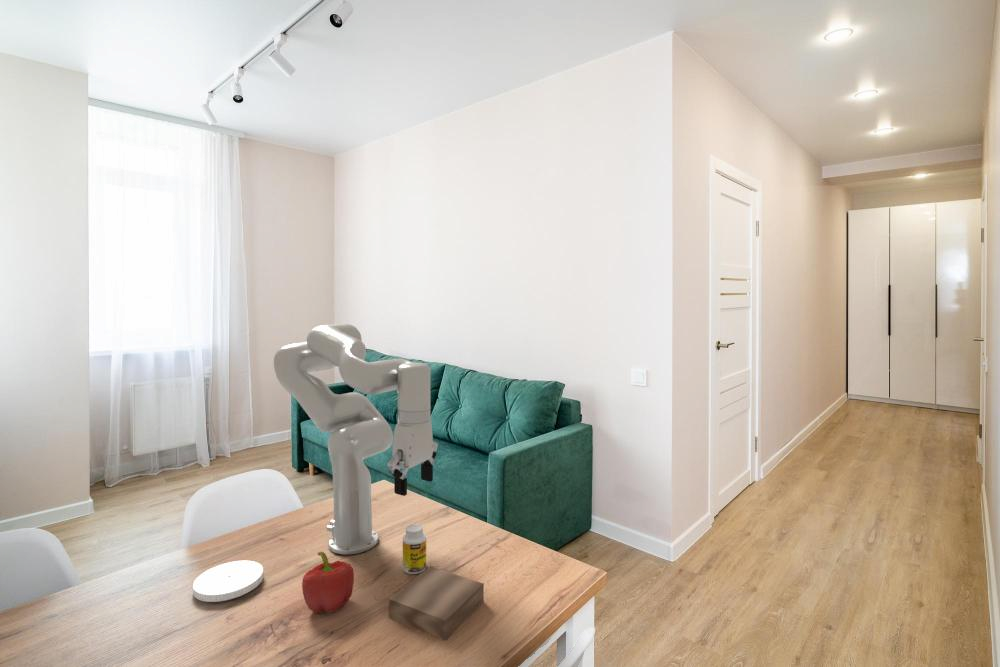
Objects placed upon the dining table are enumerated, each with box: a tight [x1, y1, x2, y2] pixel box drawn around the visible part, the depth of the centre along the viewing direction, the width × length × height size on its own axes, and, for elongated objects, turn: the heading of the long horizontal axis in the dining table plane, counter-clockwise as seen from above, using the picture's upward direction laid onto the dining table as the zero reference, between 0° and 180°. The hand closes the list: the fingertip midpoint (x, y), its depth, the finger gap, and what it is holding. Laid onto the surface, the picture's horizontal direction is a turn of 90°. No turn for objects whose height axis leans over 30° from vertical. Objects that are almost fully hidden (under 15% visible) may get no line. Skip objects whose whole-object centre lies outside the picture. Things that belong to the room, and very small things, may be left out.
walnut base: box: [388, 566, 485, 641], centre depth 106 cm, size 14×14×4 cm
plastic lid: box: [192, 559, 264, 603], centre depth 114 cm, size 14×14×2 cm
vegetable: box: [301, 551, 355, 614], centre depth 107 cm, size 11×10×10 cm
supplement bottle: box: [402, 523, 427, 575], centre depth 121 cm, size 6×6×10 cm
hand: (414, 487), depth 120 cm, fingers open, 9 cm apart
